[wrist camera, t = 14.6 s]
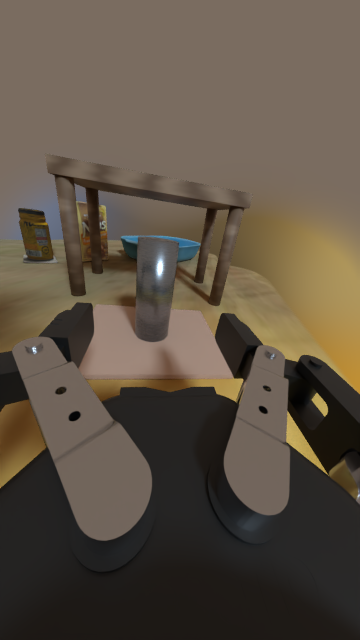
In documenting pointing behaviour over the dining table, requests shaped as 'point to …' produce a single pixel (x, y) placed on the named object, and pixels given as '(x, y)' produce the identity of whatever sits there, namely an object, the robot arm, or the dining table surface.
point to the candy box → (84, 231)
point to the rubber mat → (152, 348)
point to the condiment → (36, 237)
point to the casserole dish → (185, 246)
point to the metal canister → (154, 286)
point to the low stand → (144, 187)
